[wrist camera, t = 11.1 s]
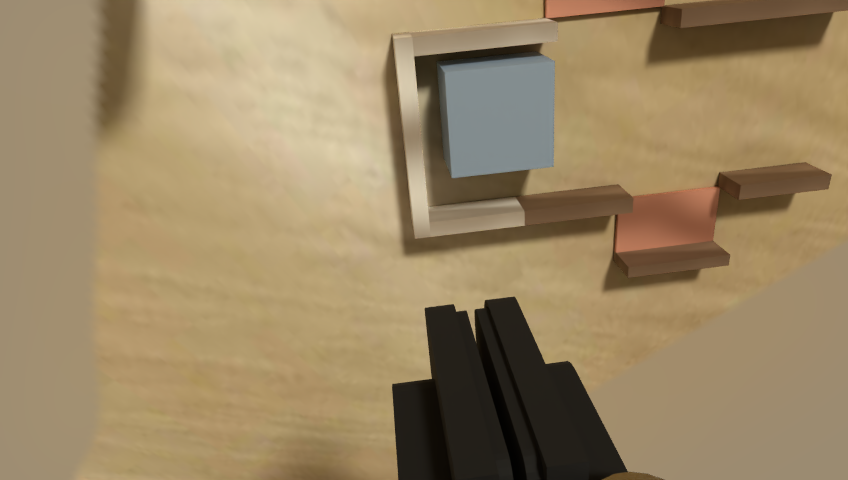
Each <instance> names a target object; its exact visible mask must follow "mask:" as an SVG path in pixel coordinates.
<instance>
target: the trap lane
mask: <svg viewBox="0 0 848 480" xmlns="http://www.w3.org/2000/svg"><path fill="white" fill-rule="evenodd" d="M664 1H665V0H545V18H540V19H530V20H520V21H511V22H501V23H492V24H482V25H472V26H463V27H453V28H444V29H434V30H425V31H415V32H405V33H396V34H392V40H393V50H394V59H395V68H396V78H397V87H398V96H399V106H400V115H401V125H402V134H403V143H404V153H405V162H406V171H407V181H408V190H409V200H410V209H411V218H412V226H413V231H414V236H415V239H417V238H426V237H434V236H442V235H451V234H459V233H467V232H476V231H484V230H492V229H501V228H509V227H517V226H526V225H534V224H542V223H551V222H559V221H567V220H575V219H584V218H592V217H600V216H609V215H616V232H615V249H614V262H615V263H616V264H617V265H618V267H619V268H620V269H621V270H622V271H623V273H624V274H625V275H626V276H627V277H628V278H631V277H639V276H647V275H655V274H663V273H671V272H679V271H687V270H695V269H703V268H711V267H719V266H727V265H729V259H730V254H728V253H727V252H726V251H725V250H724V249H722V248H721V247H720V246H719V245H717V244H716V243H715V242H714V241H713V236H714V229H715V222H716V214H717V207H718V200H719V193H720V188H721V189H723V190H724V191H726V192H727V193H729V194H730V195H732V196H733V197H735V198H737V199H738V200H742V199H750V198H759V197H767V196H775V195H783V194H792V193H800V192H808V191H817V190H825V189H828V188H829V184H830V179H831V174H829V173H827V172H825V171H823V170H821V169H818V168H816V167H814V166H812V165H810V164H808V163H796V164H788V165H779V166H771V167H762V168H754V169H745V170H737V171H729V172H720V174H719V181H718V186H717V187H709V188H700V189H692V190H683V191H675V192H667V193H658V194H650V195H641V196H633V197H632V196H631V195H630V194H628V193H627V192H626V191H625V190H624V189H623V188H622V187H621V186H619V185H610V186H601V187H593V188H584V189H576V190H567V191H559V192H550V193H542V194H533V195H525V196H516V197H508V198H499V199H491V200H482V201H474V202H465V203H457V204H449V205H440V206H432V207H428V202H427V191H426V180H425V170H424V159H423V148H422V137H421V126H420V116H419V105H418V94H417V83H416V72H415V61H414V56H423V55H432V54H441V53H451V52H460V51H470V50H479V49H488V48H498V47H507V46H517V45H526V44H536V43H545V42H554V41H558V22H556V21H553V20H550V19H547V18H555V17H565V16H574V15H584V14H593V13H603V12H613V11H622V10H632V9H641V8H651V7H661V6H662V9H661V21H660V24H664V25H669V26H673V27H678V28H686V27H696V26H705V25H715V24H724V23H733V22H743V21H752V20H762V19H771V18H781V17H790V16H799V15H809V14H818V13H828V12H837V11H846V10H848V0H712V1H703V2H693V3H684V4H674V5H664Z"/></svg>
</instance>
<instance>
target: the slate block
mask: <svg viewBox="0 0 848 480" xmlns="http://www.w3.org/2000/svg"><path fill="white" fill-rule="evenodd" d="M437 74H438V87H439V101H440V115H441V128H442V142H443V156H444V160H445V163H446V165H447V168H448V170H449V172H450V175H451V177H452V178H458V177H467V176H476V175H485V174H494V173H503V172H511V171H520V170H529V169H538V168H547V167H554V81H555V61H554V60H552V59H550V58H548V57H546V56H544V55H542V54H540V53H538V52H536V51H534V52H524V53H515V54H505V55H495V56H486V57H476V58H466V59H456V60H447V61H437Z"/></svg>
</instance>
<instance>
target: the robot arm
mask: <svg viewBox="0 0 848 480" xmlns="http://www.w3.org/2000/svg"><path fill="white" fill-rule="evenodd" d="M425 317H426V327H427V336H428V346H429V356H430V365H431V375H432V379H428V380H420V381H413V382H405V383H397V384H392V390H393V406H394V421H395V435H396V450H397V465H398V480H664V479H662V478H659V477H655V476H653V475H650V474H646V473H637V472H628V471H627V469H626V467H625V465H624V463H623V461H622V460H621V458H620V456H619V454H618V452H617V450H616V448H615V446H614V444H613V442H612V440H611V438H610V436H609V434H608V432H607V431H606V429H605V427H604V425H603V423H602V421H601V419H600V417H599V415H598V413H597V411H596V409H595V407H594V405H593V403H592V401H591V399H590V398H589V396H588V394H587V392H586V390H585V388H584V386H583V384H582V382H581V380H580V378H579V376H578V374H577V372H576V370H575V368H574V367H573V365H572V364H571V363H570V362H568V361H565V362H558V363H550V364H545V362H544V360H543V357H542V355H541V353H540V351H539V348H538V346H537V344H536V342H535V339H534V337H533V335H532V333H531V331H530V328H529V326H528V324H527V322H526V319H525V317H524V315H523V313H522V311H521V308H520V306H519V304H518V302H517V300H516V298H515V297H507V298H499V299H491V300H485V304H484V308H482V309H475V330H476V341H475V338H474V334H473V331H472V328H471V324H470V321H469V317H468V314H467V311H458V312H456V310H455V306H454V304H452V305H444V306H436V307H428V308H425Z"/></svg>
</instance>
